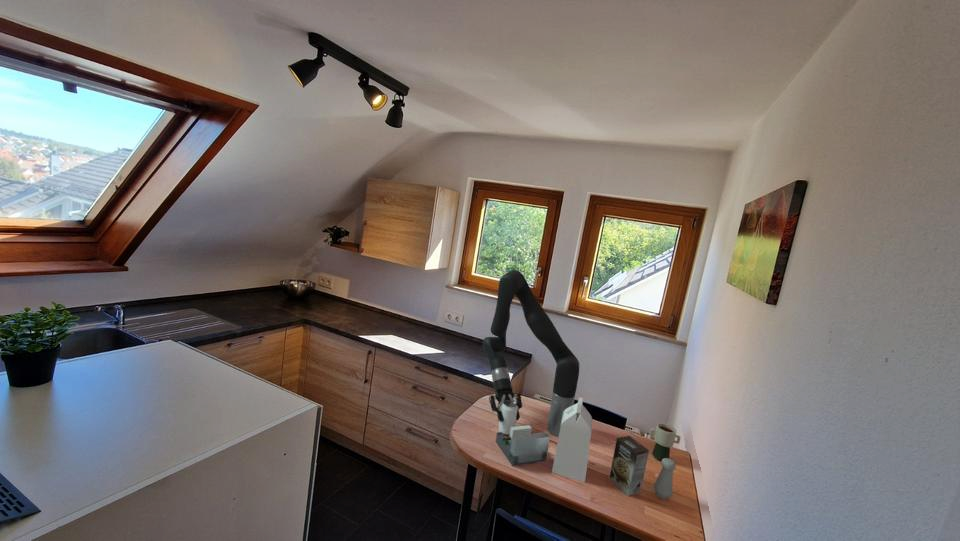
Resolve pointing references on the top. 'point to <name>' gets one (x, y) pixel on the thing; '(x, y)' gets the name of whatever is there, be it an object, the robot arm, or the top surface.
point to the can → (508, 416)
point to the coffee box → (628, 465)
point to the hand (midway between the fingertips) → (509, 420)
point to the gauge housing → (524, 448)
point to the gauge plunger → (518, 432)
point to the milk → (573, 442)
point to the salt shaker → (665, 479)
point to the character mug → (663, 440)
